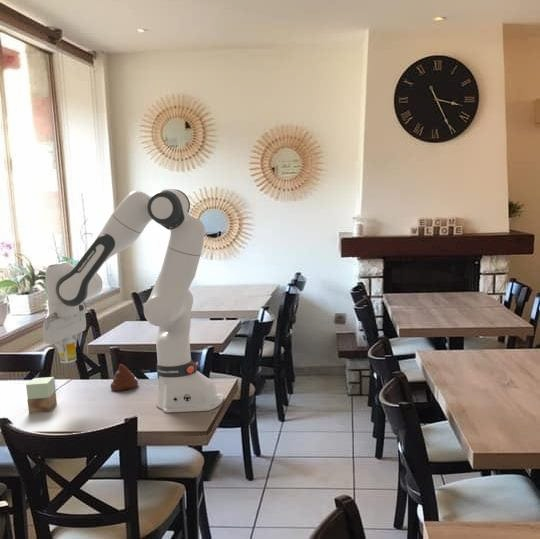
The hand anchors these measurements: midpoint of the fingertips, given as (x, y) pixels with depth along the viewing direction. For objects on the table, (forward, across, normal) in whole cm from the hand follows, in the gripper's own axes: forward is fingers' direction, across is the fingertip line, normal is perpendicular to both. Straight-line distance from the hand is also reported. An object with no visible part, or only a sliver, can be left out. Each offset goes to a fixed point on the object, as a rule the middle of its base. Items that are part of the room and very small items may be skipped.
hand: (67, 350), depth 196 cm
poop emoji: (+20, +20, -8) cm, 30 cm away
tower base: (+20, -3, +10) cm, 23 cm away
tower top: (+15, -3, +10) cm, 18 cm away
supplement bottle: (+4, 0, 0) cm, 4 cm away
